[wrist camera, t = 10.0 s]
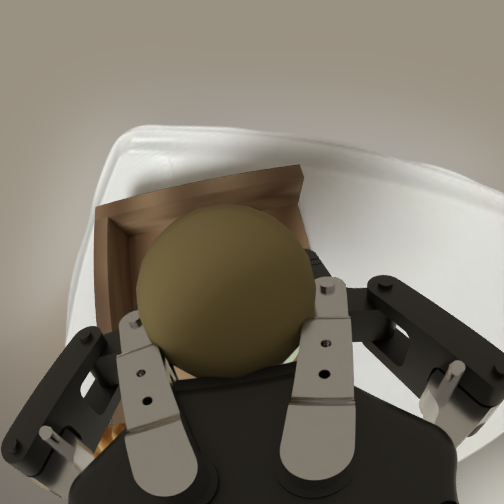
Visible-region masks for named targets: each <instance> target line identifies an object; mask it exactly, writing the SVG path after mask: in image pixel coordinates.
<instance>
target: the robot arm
mask: <svg viewBox="0 0 504 504" xmlns="http://www.w3.org/2000/svg"><path fill="white" fill-rule="evenodd" d="M304 250H305V251H306V253H307V255H308V256H309V260H310V263H311V267H312V271H313V275H314V279H315V283H316V298H315V311H314V317H308V318H306V319H305V320H304V321H303V323H302V331H301V338H300V345H299V353H298V359H297V361H294V362H289V363H284V364H280V365H275V366H270V367H266V368H264V369H261V370H259V371H256V372H253V373H251V374H248V375H246V376H243V377H240V378H237V379H227V378H211V377H200V378H192V379H182V380H179V377H178V374H177V371H176V369H175V366H174V365H172V364H171V363H170V362H169V361H168V360H167V359H166V358H165V357H164V356H163V355H162V353H161V351H160V349H159V347H158V345H157V344H155V343H151V342H150V340H149V338H148V336H147V333H146V331H145V329H144V327H143V324H142V322H141V320H140V317H139V314H138V305H136V308H135V311H133V312H130V313H128V314H127V315H125V316H124V317H123V318H122V319H121V321H120V323H119V329H118V330H115V331H113V332H110V333H107V334H104V335H103V333H102V331H101V330H100V328H98V327H96V326H90V327H86V328H84V329H82V330H80V331H79V332H78V333H77V334H76V335H75V336H74V337H73V339H72V340H71V341H70V342H69V344H68V345H67V346H66V348H65V349H64V350H63V352H62V353H61V354H60V356H59V357H58V358H57V360H56V361H55V362H54V364H53V365H52V367H51V368H50V369H49V371H48V372H47V373H46V375H45V376H44V378H43V379H42V380H41V382H40V383H39V385H38V386H37V388H36V389H35V391H34V392H33V394H32V395H31V397H30V398H29V400H28V401H27V403H26V404H25V406H24V407H23V409H22V410H21V412H20V413H19V415H18V416H17V418H16V420H15V421H14V423H13V424H12V426H11V428H10V429H9V431H8V433H7V434H6V436H5V438H4V440H3V442H2V446H1V452H2V456H3V458H4V459H5V461H6V462H8V463H9V464H10V465H12V466H13V467H14V468H16V469H17V470H19V471H20V472H21V473H22V474H23V475H24V476H26V477H27V478H28V479H30V480H32V481H33V482H35V483H36V484H38V485H39V486H41V487H43V488H44V489H46V490H49V491H51V492H52V493H54V494H56V495H58V496H59V497H62V498H65V499H66V500H68V504H459V502H458V498H457V492H456V470H457V452H456V448H457V447H458V446H459V445H460V444H461V443H462V442H463V441H464V440H465V438H466V437H470V436H472V435H474V434H475V433H477V431H478V430H479V429H480V428H481V427H482V426H483V425H484V424H485V422H486V421H487V420H488V419H489V418H490V416H491V415H492V414H493V413H494V411H495V410H496V409H497V408H498V406H499V405H500V404H501V402H502V401H503V400H504V353H503V352H502V351H501V350H499V349H498V348H497V347H495V346H494V345H493V344H491V343H490V342H489V341H487V340H486V339H485V338H483V337H482V336H481V335H479V334H478V333H477V332H475V331H474V330H472V329H471V328H470V327H468V326H467V325H465V324H464V323H463V322H461V321H460V320H458V319H457V318H455V317H454V316H453V315H451V314H450V313H448V312H447V311H445V310H444V309H442V308H441V307H439V306H438V305H436V304H435V303H434V302H432V301H431V300H429V299H428V298H426V297H425V296H423V295H422V294H420V293H418V292H417V291H415V290H414V289H412V288H411V287H409V286H408V285H406V284H405V283H403V282H402V281H400V280H398V279H397V278H395V277H392V276H387V275H380V276H375V277H373V278H371V279H370V280H369V281H368V284H367V288H347V287H346V284H345V283H344V282H343V281H342V280H341V279H339V278H336V277H332V276H331V275H330V273H329V272H328V270H327V269H326V268H325V266H324V265H323V264H322V262H321V260H320V259H319V257H318V256H317V254H316V253H315V252H313V251H311V250H310V249H308V248H306V249H304ZM396 324H397V325H398V326H400V327H401V328H402V329H403V330H404V331H406V333H407V334H408V336H409V338H408V337H406V336H405V335H404V334H403V333H402V332H400V331H399V330H398V329H397V328H396ZM352 342H362V343H363V345H364V346H365V347H366V348H367V349H368V350H369V351H370V352H372V353H373V354H374V355H375V356H376V357H377V358H378V359H379V360H380V361H381V362H382V363H383V364H384V365H385V366H386V367H387V368H388V369H389V370H390V371H391V372H392V373H393V374H394V375H395V376H396V377H397V378H398V379H399V380H401V381H402V382H403V383H404V384H405V385H406V386H407V387H408V388H409V389H410V390H411V391H412V392H413V393H414V394H415V395H416V396H417V397H418V398H419V399H420V401H419V408H420V411H421V413H422V414H423V419H422V418H420V417H417V416H415V415H413V414H411V413H409V412H407V411H404V410H402V409H400V408H398V407H396V406H394V405H392V404H390V403H388V402H385V401H383V400H381V399H379V398H377V397H375V396H373V395H371V394H369V393H367V392H365V391H363V390H361V389H359V388H357V387H356V386H354V373H353V347H352ZM89 372H91V373H92V375H93V376H94V377H95V381H94V382H93V384H92V386H91V387H90V389H89V391H88V392H87V394H86V396H85V397H84V398H83V397H82V395H81V392H80V388H81V385H82V383H83V381H84V380H85V378H86V377H87V375H88V373H89ZM121 398H122V404H123V410H124V416H125V421H126V426H127V427H126V428H125V429H124V430H123V431H122V432H121V433H120V434H119V435H118V436H117V437H116V438H115V439H114V440H113V441H112V442H111V443H110V444H109V445H108V446H107V447H106V448H105V449H104V450H103V451H102V452H101V453H100V454H99V455H98V456H97V457H96V458H95V459H94V453H95V451H96V448H97V446H98V444H99V442H100V440H101V438H102V436H103V434H104V432H105V430H106V428H107V426H108V424H109V422H110V420H111V418H112V416H113V414H114V412H115V410H116V408H117V406H118V404H119V402H120V400H121Z"/></svg>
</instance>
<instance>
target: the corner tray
mask: <svg viewBox="0 0 504 504" xmlns="http://www.w3.org/2000/svg"><path fill="white" fill-rule="evenodd" d="M303 180H304V176H303V173H302V170H301V167H300V164H299V165H292V166H285V167H278V168H271V169H265V170H258V171H252V172H246V173H240V174H235V175H229V176H224V177H219V178H213V179H208V180H203V181H198V182H194V183H189V184H184V185H180V186H175V187H171V188H166V189H162V190H158V191H154V192H150V193H146V194H142V195H138V196H134V197H130V198H126V199H122V200H119V201H115V202H111V203H108V204H104V205H101V206H97V207H96V208H95V226H94V292H95V309H96V322H97V327H98V328H100V330H101V331H102V333H103V335H104V334H107V333H110V332H113V331H115V330H118V329H119V323H120V321H121V319H122V318H123V317H124V316H125V315H127V314H128V313H130V312H133V311H135V308H136V305H137V294H136V286H137V281H138V276H139V272H140V267H141V263H142V261H143V259H144V257H145V255H146V254H147V252H148V250H149V248H150V246H151V245H152V243H153V241H154V240H155V238H156V237H157V236H158V235H159V234H161V233H162V232H163V231H164V230H165V229H166V228H167V227H168V226H169V225H170V224H171V223H172V222H173V221H175V220H176V219H178V218H180V217H182V216H184V215H186V214H188V213H190V212H192V211H194V210H196V209H199V208H204V207H209V206H215V205H220V204H229V205H239V206H249V207H251V208H254V209H256V210H259V211H261V212H264V213H266V214H268V215H271V216H273V217H275V218H276V219H277V220H278V221H279V222H281V223H282V224H283V225H284V226H286V227H287V228H288V229H289V230H290V231H292V232H293V233H294V234H295V236H296V237H297V239H298V240H299V242H300V244H301V245H302V247H303V248H304V249H306V248H308V249H309V245H308V241H307V237H306V234H305V230H304V226H303V223H302V219H301V215H300V212H299V208H298V205H297V204H298V200H299V196H300V192H301V188H302V184H303ZM298 353H299V347H298V348H297V349H296V350H295V351H294V352H293V353H292V355H291V356H290V357H289V358H288V359H287V360H286V361H285V362H284V363H289V362H294V361H297V359H298ZM284 363H283V364H284ZM175 369H176V371H177V374H178V377H179V380H182V379H192V378H196V377H194V376H192V375H190V374H188V373H186V372H184V371H183V370H181V369H179V368H177V367H175ZM112 422H113V423H126V421H125V416H124V410H123V404H122V398H121V400H120V402H119V404H118V406H117V408H116V410H115V412H114V414H113V416H112Z"/></svg>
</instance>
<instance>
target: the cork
mask: <svg viewBox="0 0 504 504" xmlns="http://www.w3.org/2000/svg"><path fill="white" fill-rule="evenodd" d="M136 294H137V305H138V314H139V317H140V320H141V322H142V324H143V327H144V329H145V331H146V333H147V336H148V338H149V340H150V342H151V343H155V344H157V345H158V347H159V349H160V351H161V353H162V355H163V356H164V357H165V358H166V359H167V360H168V361H169V362H170V363H171V364H172V365H174V366H175V367H177V368H179V369H181V370H183V371H184V372H186V373H188V374H190V375H192V376H194V377H196V378H200V377H211V378H227V379H237V378H240V377H243V376H246V375H248V374H251V373H253V372H256V371H259V370H261V369H264V368H266V367H270V366H275V365H280V364H283V363H284V362H285V361H286V360H287V359H288V358H289V357H290V356H291V355H292V353H293V352H294V351H295V350H296V349H297V348H298V347H299V345H300V338H301V331H302V323H303V321H304V320H305V319H306V318H308V317H314V311H315V298H316V283H315V279H314V275H313V271H312V267H311V263H310V260H309V256H308V255H307V253H306V251H305V250H304V248H303V247H302V245H301V244H300V242H299V240H298V239H297V237H296V236H295V234H294V233H293V232H292V231H290V230H289V229H288V228H287V227H286V226H284V225H283V224H282V223H281V222H279V221H278V220H277V219H276V218H275V217H273V216H271V215H268V214H266V213H264V212H261V211H259V210H256V209H254V208H251V207H249V206H239V205H229V204H220V205H215V206H209V207H204V208H199V209H196V210H194V211H192V212H190V213H188V214H186V215H184V216H182V217H180V218H178V219H176V220H175V221H173V222H172V223H171V224H170V225H169V226H168V227H167V228H166V229H165V230H164V231H163V232H162V233H161V234H159V235H158V236H157V237H156V238H155V240H154V241H153V243H152V245H151V246H150V248H149V250H148V252H147V254H146V255H145V257H144V259H143V261H142V263H141V267H140V272H139V276H138V281H137V286H136Z"/></svg>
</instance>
